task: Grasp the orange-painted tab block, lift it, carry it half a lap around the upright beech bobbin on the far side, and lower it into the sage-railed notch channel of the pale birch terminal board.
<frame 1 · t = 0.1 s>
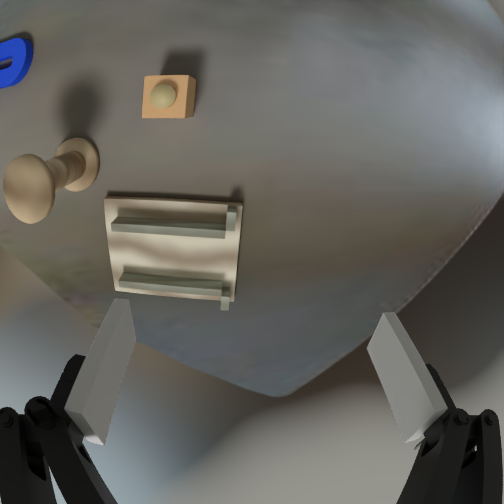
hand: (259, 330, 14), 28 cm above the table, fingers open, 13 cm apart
tab: (175, 97, 33), on the table
bobbin: (77, 163, 36), on the table
terminal board: (171, 249, 43), on the table
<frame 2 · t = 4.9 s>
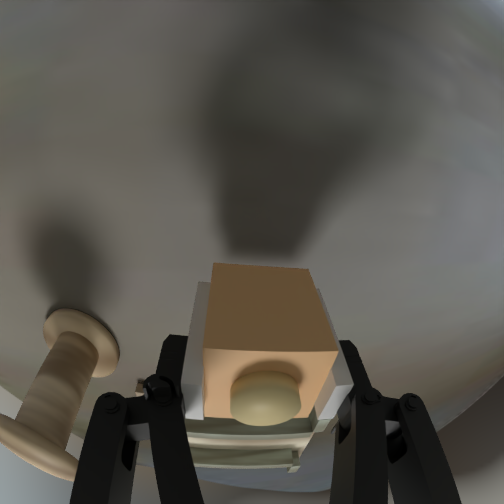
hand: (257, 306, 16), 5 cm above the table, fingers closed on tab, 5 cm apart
tab: (256, 304, 16), point 4 cm above the table, touching gripper
bobbin: (81, 341, 23), on the table
terminal board: (231, 428, 30), on the table
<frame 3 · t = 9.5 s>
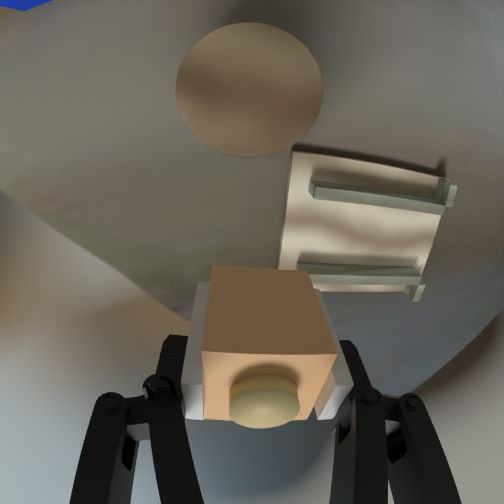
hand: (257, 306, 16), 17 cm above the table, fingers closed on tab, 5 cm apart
tab: (255, 305, 16), point 16 cm above the table, touching gripper
bobbin: (245, 97, 25), on the table
terminal board: (365, 229, 32), on the table
when the fingers open (2 cm above the table, at t = 13.9 s): tab stays where it is, resting on terminal board.
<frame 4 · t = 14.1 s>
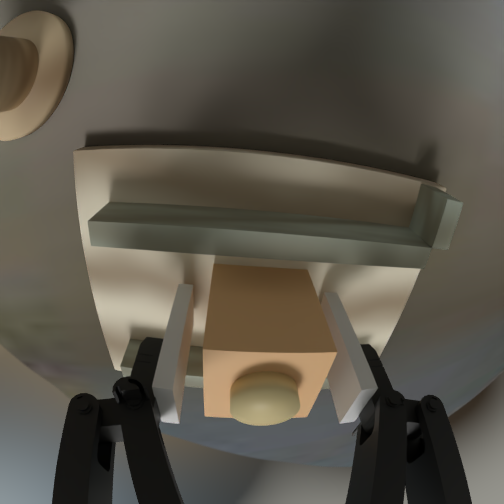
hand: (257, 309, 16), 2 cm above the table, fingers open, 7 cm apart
tab: (256, 304, 16), point 1 cm above the table, touching terminal board
bobbin: (22, 74, 10), on the table
terminal board: (255, 288, 17), on the table
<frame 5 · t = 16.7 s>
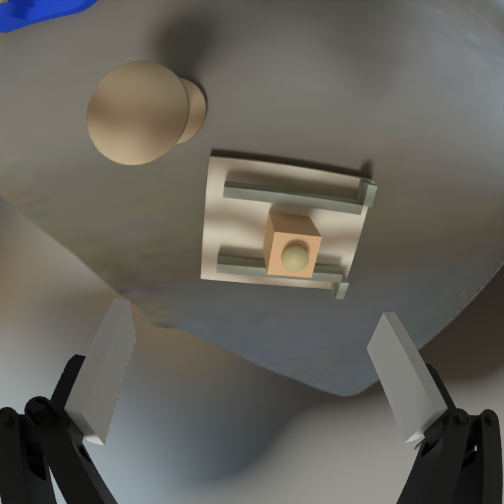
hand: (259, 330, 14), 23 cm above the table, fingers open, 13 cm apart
tab: (285, 232, 36), point 1 cm above the table, touching terminal board
bobbin: (171, 110, 29), on the table
terminal board: (284, 226, 37), on the table
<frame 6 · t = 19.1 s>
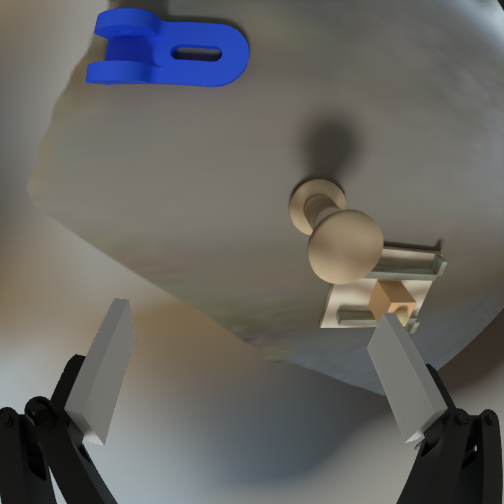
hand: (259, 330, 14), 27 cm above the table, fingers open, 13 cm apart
tab: (384, 293, 46), point 1 cm above the table, touching terminal board
bobbin: (317, 206, 39), on the table
terminal board: (382, 287, 47), on the table
bracket: (177, 54, 29), on the table
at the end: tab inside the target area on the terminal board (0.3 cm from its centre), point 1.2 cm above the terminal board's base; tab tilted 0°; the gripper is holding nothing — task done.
